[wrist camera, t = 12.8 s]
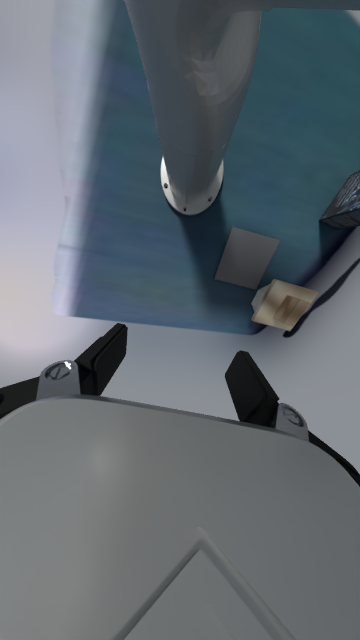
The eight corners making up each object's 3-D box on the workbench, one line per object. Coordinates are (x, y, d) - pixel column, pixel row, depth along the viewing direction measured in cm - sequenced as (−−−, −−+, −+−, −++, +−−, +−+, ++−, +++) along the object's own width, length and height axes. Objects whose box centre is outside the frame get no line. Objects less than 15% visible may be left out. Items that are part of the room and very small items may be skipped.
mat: (231, 227, 30) (232, 226, 29) (278, 240, 30) (280, 240, 30) (214, 278, 35) (214, 279, 34) (254, 289, 36) (255, 289, 35)
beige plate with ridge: (273, 278, 30) (289, 282, 25) (314, 291, 31) (337, 296, 26) (250, 319, 35) (260, 328, 30) (286, 328, 36) (302, 339, 31)
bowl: (263, 279, 34) (273, 282, 30) (296, 288, 35) (311, 292, 31) (246, 312, 39) (253, 318, 35) (276, 319, 39) (287, 326, 35)
